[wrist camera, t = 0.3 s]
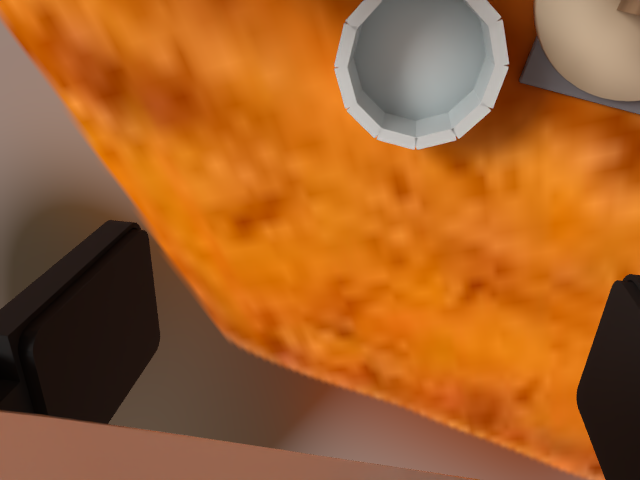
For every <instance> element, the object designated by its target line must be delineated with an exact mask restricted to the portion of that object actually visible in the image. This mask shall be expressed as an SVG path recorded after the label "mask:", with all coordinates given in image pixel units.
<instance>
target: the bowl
mask: <svg viewBox="0 0 640 480" xmlns="http://www.w3.org/2000/svg"><path fill="white" fill-rule="evenodd" d="M508 64H509V58H508V52H507V45H506V38H505V32H504V25H503V20H502V19H501V16H500V15H499V14H498V12H497V11H496V10H495V9H494V8H493V7H492V6H491V4H490V3H489V2H488V1H487V0H364V1H363V2H362V3H361V4H360V5H359V6H358V7H357V8H356V10H355V11H354V12H353V13H352V14H351V15H350V16H349V17H348V18H347V20H346V22H345V23H344V26H343V30H342V35H341V39H340V43H339V48H338V52H337V56H336V60H335V65H334V66H336V67H335V69H334V70H335V73H336V77H337V81H338V84H339V88H340V91H341V95H342V99H343V102H344V106H345V108H348V109H347V112H348V113H349V114H350V115H351V116H352V117H353V118H354V119H355V120H356V121H357V122H358V123H359V124H360V125H361V126H362V127H363V128H364V129H365V130H366V131H368V132H369V133H370V134H371V135H372V136H373V137H374V138H375V137H376V136H377V135H378V136H377V140H380V141H384V142H387V143H391V144H395V145H398V146H402V147H406V148H409V149H413V150H414V149H415V146H416V148H417V150H418V149H423V148H427V147H431V146H435V145H439V144H443V143H448V142H452V141H456V136H457V137H458V139H460V138H461V137H462V136H463V135H464V134H465V133H466V132H468V131H469V130H470V129H471V128H472V127H473V126H474V125H476V124H477V123H478V122H479V121H480V120H481V119H483V118H484V117H485V116H486V115H487V114H488V113H489V112H491V110H490V108H493V107H494V104H495V102H496V99H497V97H498V94H499V91H500V89H501V86H502V84H503V81H504V79H505V76H506V73H507V71H508V68H509V67H508V66H507V65H508ZM455 135H456V136H455Z"/></svg>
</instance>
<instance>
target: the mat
mask: <svg viewBox="0 0 640 480" xmlns="http://www.w3.org/2000/svg"><path fill="white" fill-rule="evenodd" d="M519 82H520V83H524V84H527V85H531V86H535V87H539V88H543V89H546V90H550V91H554V92H558V93H561V94H565V95H569V96H573V97H576V98H580V99H584V100H588V101H592V102H595V103H599V104H603V105H607V106H610V107H614V108H618V109H622V110H625V111H629V112H633V113H637V114H640V101H616V100H610V99H605V98H601V97H598V96H595V95H592V94H589V93H587V92H585V91H583V90H581V89H579V88H577V87H576V86H575V85H573V84H572V83H570V82H569V81H568V80H566V79H565V78H564V77H563V76H562V75H561V74H560V73H559V72H557V71H556V70H555V68H554V67H553V66H552V64H551V63H550V62H549V60H548V59H547V57H546V55H545V54H544V52H543V50H542V48H541V45H540V42H539V40H538V37H537V36H536V39H535V41H534V44H533V46H532V49H531V51H530V54H529V56H528V59H527V61H526V64H525V66H524V69H523V71H522V74H521V76H520V79H519Z"/></svg>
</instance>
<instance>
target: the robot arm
mask: <svg viewBox="0 0 640 480" xmlns="http://www.w3.org/2000/svg"><path fill="white" fill-rule="evenodd" d="M159 341H160V330H159V321H158V313H157V305H156V296H155V288H154V280H153V271H152V262H151V254H150V246H149V238H148V234H147V232H146V231H144V230H141V228H140V226H139V225H138V224H137V223H132V222H123V221H113V220H109V221H107V222H105V223H104V224H103V225H102V226H101V227H99V228H98V229H97V230H96V231H95V232H93V233H92V234H91V235H90V236H88V237H87V238H86V239H85V240H84V241H82V242H81V243H80V244H79V245H78V246H76V247H75V248H74V249H73V250H72V251H70V252H69V253H68V254H67V255H65V256H64V257H63V258H62V259H61V260H59V261H58V262H57V263H56V264H55V265H53V266H52V267H51V268H50V269H49V270H48V271H46V272H45V273H44V274H43V275H42V276H40V277H39V278H38V279H37V280H35V281H34V282H33V283H32V284H30V285H29V286H28V287H27V288H26V289H25V290H23V291H22V292H21V293H20V294H18V295H17V296H16V297H15V298H14V299H12V300H11V301H10V302H9V303H8V304H6V305H5V306H4V307H3V308H1V309H0V480H478V479H472V478H465V477H459V476H452V475H445V474H439V473H432V472H425V471H419V470H411V469H405V468H398V467H392V466H385V465H379V464H372V463H364V462H359V461H352V460H345V459H339V458H332V457H325V456H318V455H312V454H305V453H298V452H292V451H286V450H278V449H272V448H266V447H259V446H252V445H246V444H239V443H233V442H225V441H219V440H213V439H206V438H199V437H193V436H186V435H179V434H172V433H166V432H158V431H152V430H145V429H138V428H131V427H124V426H117V425H110V424H108V423H109V421H110V420H111V418H112V417H113V415H114V414H115V412H116V411H117V409H118V408H119V406H120V405H121V403H122V402H123V400H124V399H125V397H126V396H127V394H128V393H129V391H130V390H131V388H132V387H133V385H134V384H135V382H136V381H137V379H138V378H139V376H140V375H141V373H142V372H143V370H144V369H145V367H146V366H147V364H148V363H149V361H150V360H151V358H152V357H153V355H154V353H155V352H156V351H157V348H158V346H159ZM577 405H578V409H579V411H580V414H581V417H582V419H583V422H584V424H585V427H586V430H587V432H588V435H589V437H590V440H591V443H592V445H593V448H594V450H595V453H596V456H597V458H598V461H599V464H600V466H601V469H602V471H603V474H604V477H605V479H606V480H640V275H632V274H629V275H627V276H626V277H625V278H624V279H623V281H618V280H617V281H615V282H614V284H613V286H612V288H611V291H610V294H609V297H608V300H607V302H606V305H605V308H604V311H603V314H602V317H601V320H600V323H599V326H598V329H597V332H596V335H595V338H594V341H593V344H592V347H591V350H590V353H589V356H588V359H587V362H586V365H585V368H584V371H583V374H582V377H581V380H580V383H579V385H578V389H577Z"/></svg>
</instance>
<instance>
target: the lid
mask: <svg viewBox="0 0 640 480" xmlns="http://www.w3.org/2000/svg"><path fill="white" fill-rule="evenodd" d="M533 11H534V23H535V28H536V33H537V37H538V40H539V42H540V45H541V48H542V50H543V52H544V54H545V55H546V57H547V59H548V60H549V62H550V63H551V64H552V66H553V67H554V68H555V70H556V71H557V72H559V73H560V74H561V75H562V76H563V77H564V78H565V79H566V80H568V81H569V82H570V83H572V84H573V85H575V86H576V87H577V88H579V89H581V90H583V91H585V92H587V93H589V94H592V95H595V96H598V97H601V98H605V99H610V100H616V101H640V0H534V4H533Z"/></svg>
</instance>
